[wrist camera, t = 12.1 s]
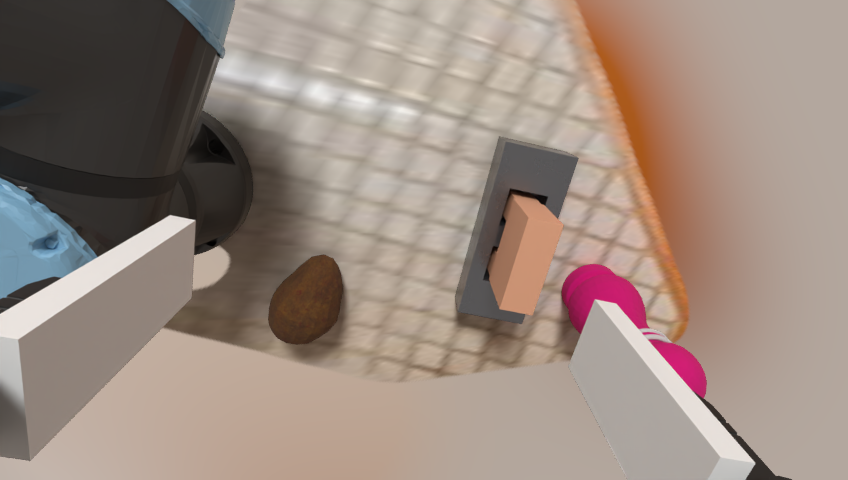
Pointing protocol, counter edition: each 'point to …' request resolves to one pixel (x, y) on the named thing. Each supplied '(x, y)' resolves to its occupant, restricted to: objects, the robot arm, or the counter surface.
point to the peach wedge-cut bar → (523, 253)
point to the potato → (307, 301)
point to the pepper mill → (615, 289)
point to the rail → (514, 170)
